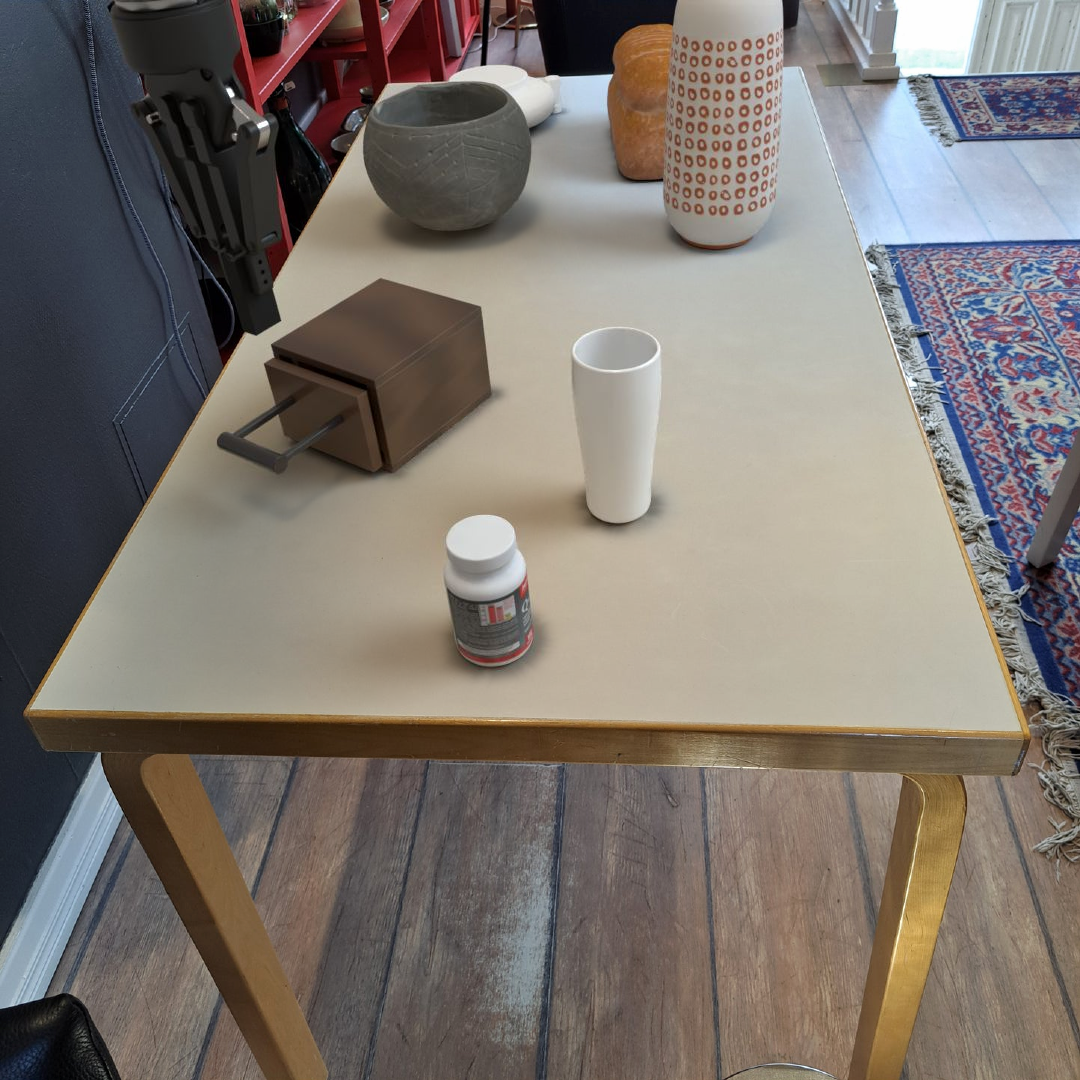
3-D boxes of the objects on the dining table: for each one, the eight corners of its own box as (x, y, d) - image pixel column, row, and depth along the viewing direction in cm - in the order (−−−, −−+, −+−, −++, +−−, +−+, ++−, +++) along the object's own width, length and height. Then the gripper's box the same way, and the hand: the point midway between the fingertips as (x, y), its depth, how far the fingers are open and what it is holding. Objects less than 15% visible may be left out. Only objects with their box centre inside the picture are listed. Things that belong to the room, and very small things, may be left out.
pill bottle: (546, 653, 70) (536, 549, 64) (471, 680, 69) (453, 576, 62) (516, 602, 74) (504, 500, 68) (445, 627, 73) (426, 524, 66)
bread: (691, 116, 154) (694, 9, 144) (714, 179, 134) (720, 59, 124) (605, 122, 154) (602, 16, 144) (615, 186, 134) (613, 67, 124)
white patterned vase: (751, 265, 114) (771, -7, 95) (645, 248, 119) (645, -12, 101) (787, 220, 122) (812, -38, 104) (686, 206, 128) (693, -41, 109)
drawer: (306, 525, 82) (283, 448, 76) (216, 483, 87) (189, 408, 82) (468, 399, 94) (458, 326, 89) (381, 369, 100) (367, 299, 95)
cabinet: (393, 472, 88) (374, 380, 82) (295, 433, 94) (270, 344, 87) (491, 395, 96) (481, 306, 90) (396, 363, 102) (380, 277, 96)
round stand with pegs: (443, 161, 146) (436, 112, 141) (400, 116, 163) (393, 71, 159) (590, 131, 152) (589, 82, 147) (534, 90, 169) (531, 45, 164)
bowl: (520, 257, 119) (509, 131, 110) (356, 256, 123) (331, 133, 113) (548, 190, 135) (541, 74, 125) (402, 190, 139) (384, 77, 129)
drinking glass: (615, 543, 78) (612, 382, 69) (561, 505, 83) (551, 348, 73) (676, 506, 81) (681, 347, 72) (621, 471, 86) (618, 316, 76)
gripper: (280, -13, 62) (354, 324, 77) (150, -26, 68) (243, 289, 83) (186, 18, 57) (285, 368, 73) (56, 1, 63) (172, 328, 79)
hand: (262, 325), depth 78 cm, fingers closed
